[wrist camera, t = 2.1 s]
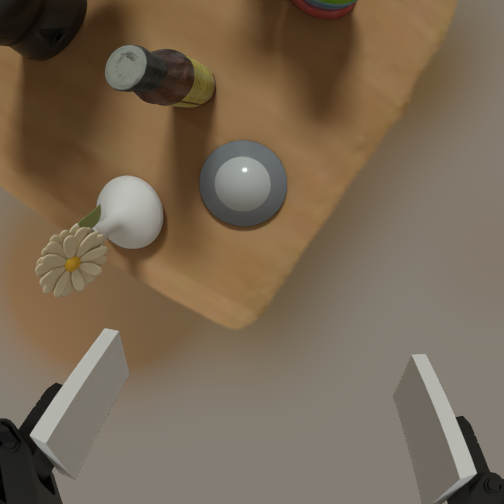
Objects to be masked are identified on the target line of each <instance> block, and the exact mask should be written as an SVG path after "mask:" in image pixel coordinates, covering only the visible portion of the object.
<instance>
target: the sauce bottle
mask: <svg viewBox="0 0 504 504" xmlns="http://www.w3.org/2000/svg"><path fill="white" fill-rule="evenodd" d="M105 78H106V81H107V83H108V84H109V85H110V86H111V87H112V88H114V89H116V90H119V91H126V92H131V91H133V92H134V93H135V94H136V95H137V96H138V97H139V98H140V99H142V100H143V101H145V102H147V103H152V104H158V105H164V106H177V107H190V108H192V107H197V106H200V105H204V104H205V103H207V102H208V101H209V100H210V99H211V98H212V96H213V94H214V92H215V90H216V81H215V78H214V75H213V74H212V72H211V71H210V70H209V69H208V68H207V67H205V66H204V65H202V64H200V63H198V62H197V61H195V60H193V59H191V58H189V57H188V56H186V55H184V54H182V53H180V52H178V51H175V50H171V49H161V50H157V51H153V52H149V51H148V50H147V49H145V48H144V47H141V46H137V45H125V46H122V47H120V48H118V49H117V50H115V51H114V52H113V53H112V54H111V56H110V57H109V59H108V61H107V63H106V67H105Z"/></svg>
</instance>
